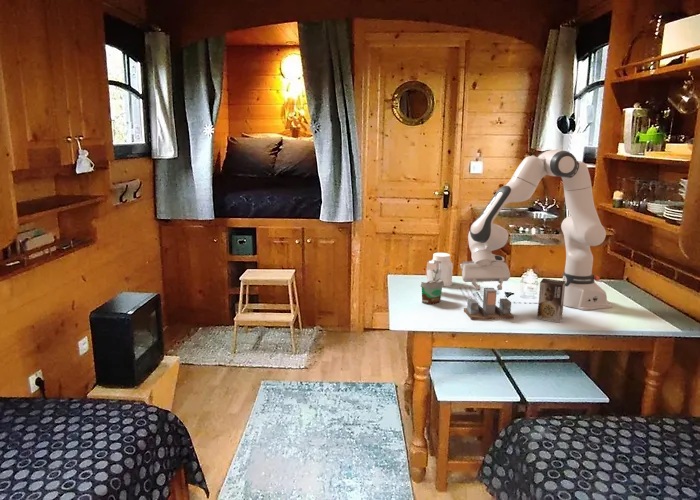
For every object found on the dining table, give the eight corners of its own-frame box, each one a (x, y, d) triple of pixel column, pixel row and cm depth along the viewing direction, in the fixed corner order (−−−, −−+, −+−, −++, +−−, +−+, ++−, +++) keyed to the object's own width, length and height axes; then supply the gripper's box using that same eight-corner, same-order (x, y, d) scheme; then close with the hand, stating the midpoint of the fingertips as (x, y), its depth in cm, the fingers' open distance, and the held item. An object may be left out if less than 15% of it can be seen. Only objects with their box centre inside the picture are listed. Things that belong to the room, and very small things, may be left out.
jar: (429, 285, 270) (430, 256, 266) (428, 280, 279) (429, 251, 276) (452, 286, 269) (454, 257, 265) (450, 281, 278) (452, 252, 275)
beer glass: (440, 295, 256) (441, 264, 252) (425, 293, 257) (426, 263, 254) (440, 290, 262) (442, 260, 259) (426, 289, 264) (427, 259, 260)
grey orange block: (491, 310, 232) (493, 287, 230) (495, 313, 228) (496, 290, 225) (482, 310, 232) (484, 287, 229) (485, 314, 227) (487, 291, 225)
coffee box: (562, 318, 227) (566, 281, 223) (559, 323, 221) (563, 284, 218) (539, 314, 231) (543, 277, 228) (536, 318, 226) (539, 281, 222)
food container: (430, 307, 239) (431, 285, 236) (419, 303, 243) (420, 282, 241) (448, 301, 246) (449, 280, 244) (438, 298, 251) (439, 277, 249)
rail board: (504, 309, 236) (505, 296, 235) (513, 318, 226) (515, 304, 224) (463, 310, 235) (464, 296, 233) (471, 319, 224) (472, 305, 223)
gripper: (461, 258, 233) (466, 286, 226) (507, 257, 235) (514, 285, 228) (457, 265, 238) (463, 293, 231) (503, 264, 240) (510, 292, 233)
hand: (489, 289), depth 229 cm, fingers open, 8 cm apart
